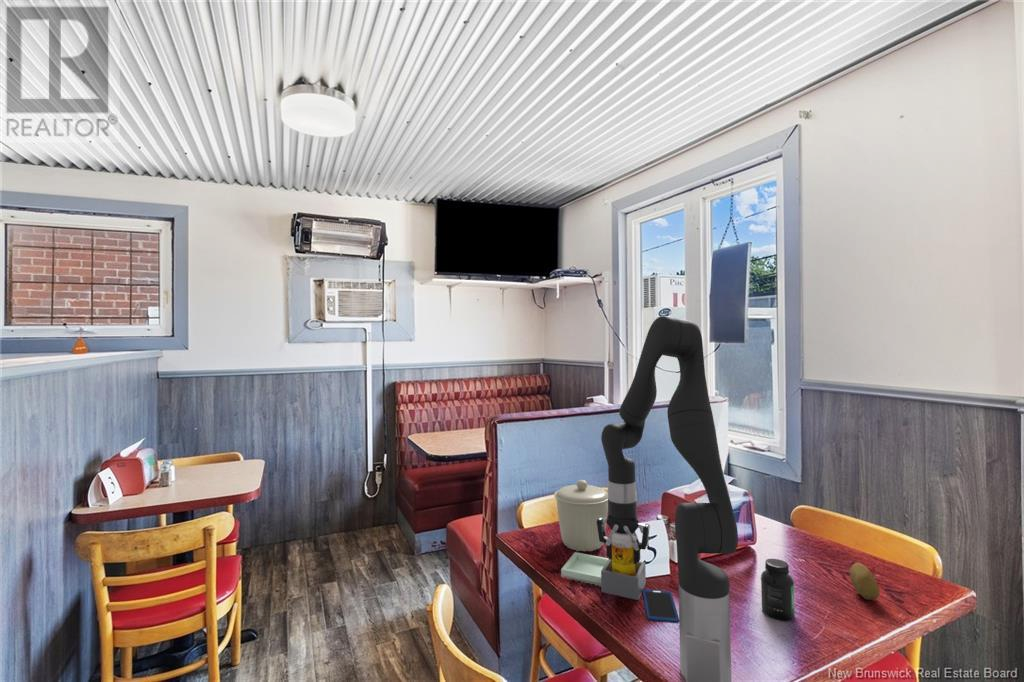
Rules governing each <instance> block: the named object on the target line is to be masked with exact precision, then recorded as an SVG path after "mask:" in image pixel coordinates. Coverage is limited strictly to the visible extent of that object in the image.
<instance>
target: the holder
mask: <svg viewBox="0 0 1024 682" xmlns="http://www.w3.org/2000/svg"><path fill="white" fill-rule="evenodd" d="M646 574H647V573H646V562H645V561H641V560H640V561H639V563H637V564H635V576H631V575H626V574H621V573H616V572H612V560H610V559H608V561H607V562H606V564H605V566H604V567H603V569H602V570H601V586H600V587H601V588H600V589H601V593H603V592H605V593H604V594H608V593H609V595H612V594H614V596H617V595H618V597H622V598H626V599H632V600H636V601H639V600H640V598H641V595H642V594H643V589H645V586H646V584H647V578H646Z"/></svg>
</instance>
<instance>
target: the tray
mask: <svg viewBox="0 0 1024 682" xmlns="http://www.w3.org/2000/svg"><path fill="white" fill-rule="evenodd" d="M608 559H609V557H608V558H607V557H604V556H599V555H598V556H597V555H592V554H589V553H588V554H586V553H583V552H578V551H574V553H573V554H572V555H571V556H570V558H569V559H568V560H567V561H566V563H565V564H564V565H563V566H562V567H561V569H560V572H561V573H560V578H561V577H566V578H570V579H574V580H577V581H576V582H578V581H581V582H580V583H583V582H585V583H584V584H587V583H590V584H589V585H592V584H595V585H594V586H597V585H599V586H598V587H601V570H602V569H603V567H604V566H605V564H606V562H607V561H608Z"/></svg>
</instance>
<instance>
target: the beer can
mask: <svg viewBox="0 0 1024 682" xmlns="http://www.w3.org/2000/svg"><path fill="white" fill-rule="evenodd" d="M629 535H630V534H629ZM629 535H627V534H621V533H617V532H616V533H615V532H614V534H613V535H612V542H611V545H612V572H616V573H621V574H626V575H631V576H635V564H634V547H633V543H632V542H631V538H630V536H629ZM633 537H635V536H634V533H633Z"/></svg>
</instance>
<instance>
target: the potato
mask: <svg viewBox="0 0 1024 682" xmlns="http://www.w3.org/2000/svg"><path fill="white" fill-rule="evenodd" d="M849 577H850V582H851V584H852V586H853V588H854V590H855V591H856V592H857V593H858V594H859V595H860V596H862V598H864V599H865V600H868V601H869V600H872V601H873V600H876V599H878V598H879V597H880V593H881V592H880V587H879V584H878V582H877V580H876V579H875V576H874V574H872V572H871V571H870V569H869V568H868V567H867V566H865V565H864V564H863V563H861V562H855V563H854V564H852V565H851V566H850V570H849Z"/></svg>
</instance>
